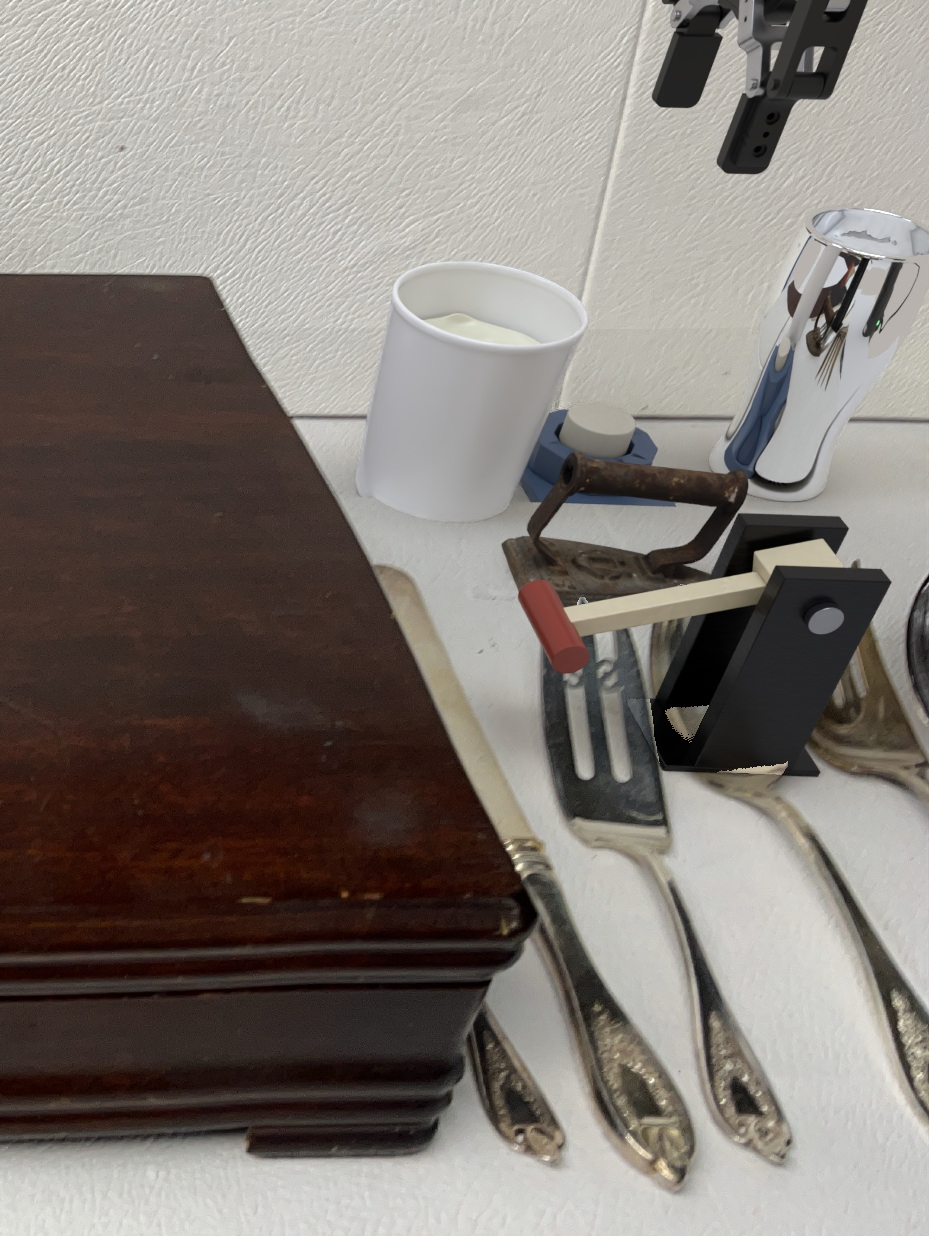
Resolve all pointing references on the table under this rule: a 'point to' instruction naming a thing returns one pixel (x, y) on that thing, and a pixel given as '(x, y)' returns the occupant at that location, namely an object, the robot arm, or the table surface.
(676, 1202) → the table surface
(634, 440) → the button block
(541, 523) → the clothes iron
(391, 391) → the candle holder
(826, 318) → the beer glass
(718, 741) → the switch bracket
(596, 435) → the button
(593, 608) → the switch lever
